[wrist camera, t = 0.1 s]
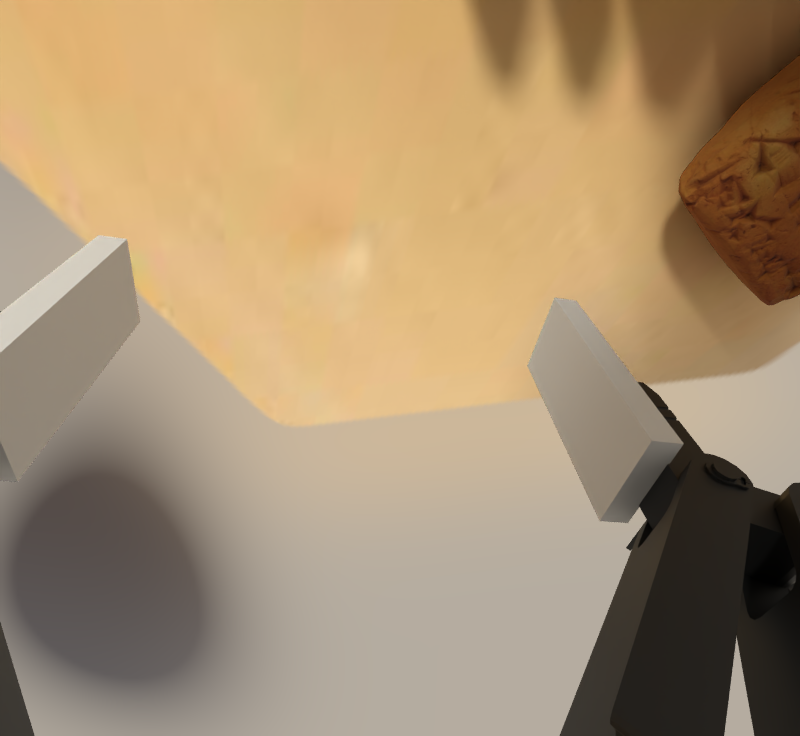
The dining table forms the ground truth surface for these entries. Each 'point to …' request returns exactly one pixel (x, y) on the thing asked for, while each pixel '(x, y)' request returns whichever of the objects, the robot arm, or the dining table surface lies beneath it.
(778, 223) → the inscribed clay slab
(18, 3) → the dining table surface
